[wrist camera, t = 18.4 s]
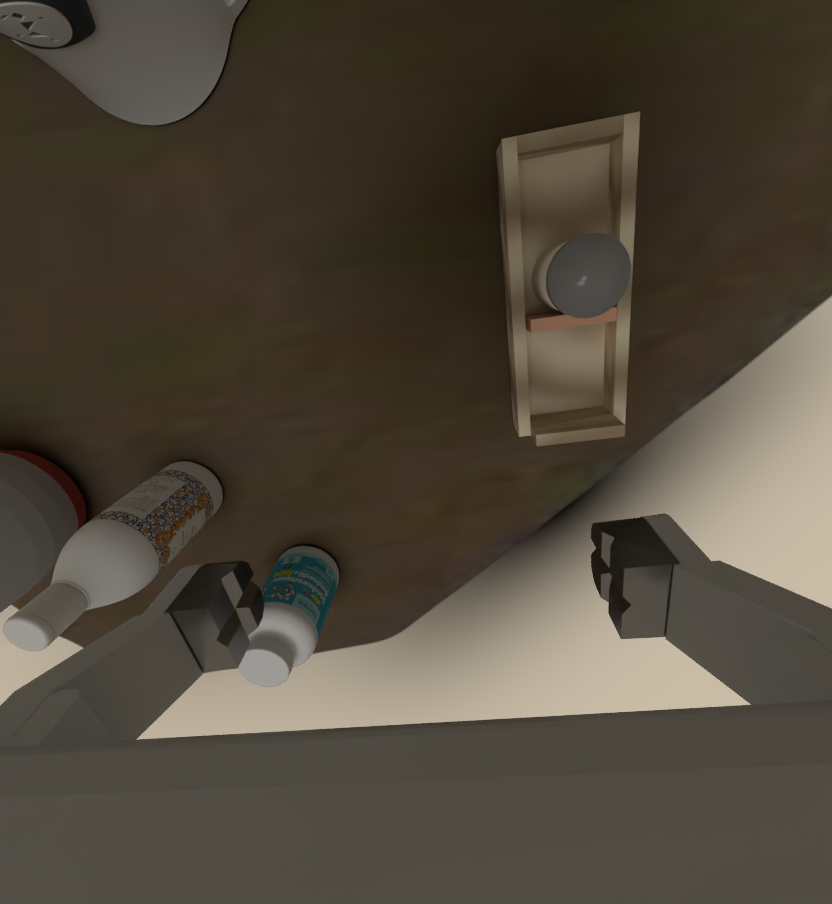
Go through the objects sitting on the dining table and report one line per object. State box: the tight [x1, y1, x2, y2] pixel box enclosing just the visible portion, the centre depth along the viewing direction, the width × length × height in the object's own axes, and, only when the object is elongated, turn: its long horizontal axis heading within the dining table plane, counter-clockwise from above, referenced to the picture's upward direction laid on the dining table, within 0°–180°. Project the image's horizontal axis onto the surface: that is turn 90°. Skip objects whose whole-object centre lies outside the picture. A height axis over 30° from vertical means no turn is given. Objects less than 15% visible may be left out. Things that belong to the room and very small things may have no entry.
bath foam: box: [3, 461, 223, 651], centre depth 36 cm, size 7×7×20 cm
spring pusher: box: [525, 307, 617, 333], centre depth 33 cm, size 1×6×3 cm, turn 98°
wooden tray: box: [496, 112, 640, 446], centre depth 32 cm, size 22×9×6 cm, turn 9°
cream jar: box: [531, 233, 631, 318], centre depth 30 cm, size 5×5×7 cm
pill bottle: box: [238, 546, 339, 687], centre depth 42 cm, size 8×7×14 cm
